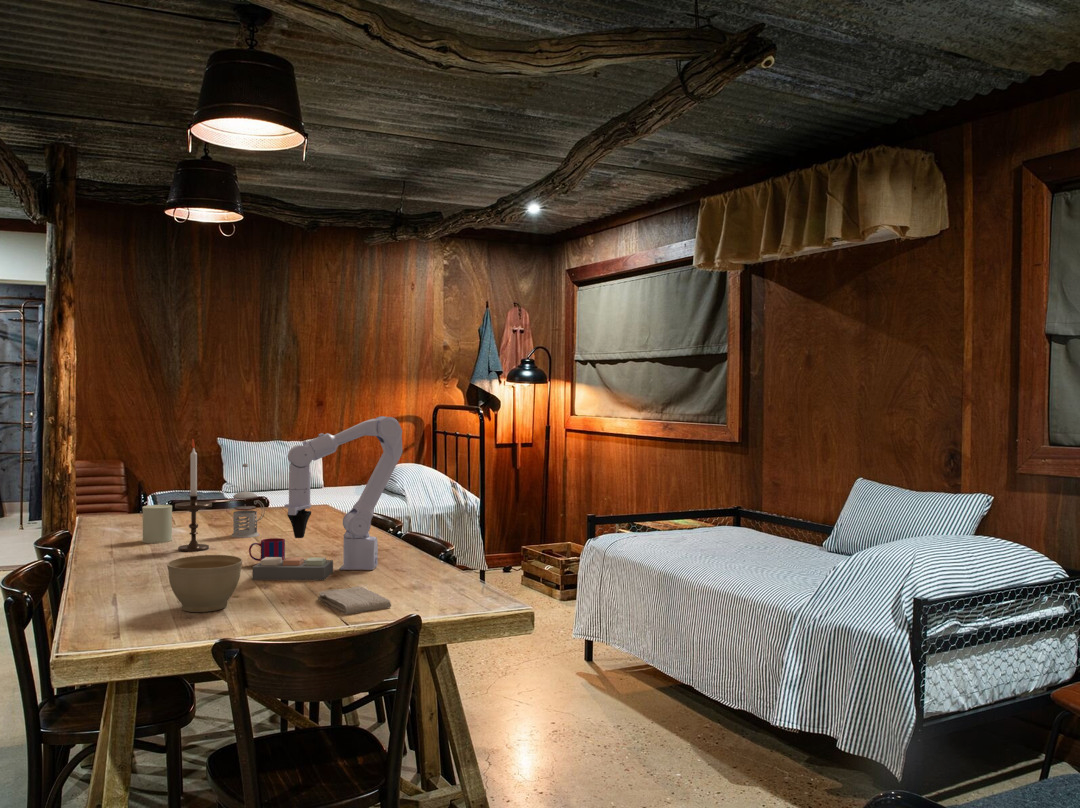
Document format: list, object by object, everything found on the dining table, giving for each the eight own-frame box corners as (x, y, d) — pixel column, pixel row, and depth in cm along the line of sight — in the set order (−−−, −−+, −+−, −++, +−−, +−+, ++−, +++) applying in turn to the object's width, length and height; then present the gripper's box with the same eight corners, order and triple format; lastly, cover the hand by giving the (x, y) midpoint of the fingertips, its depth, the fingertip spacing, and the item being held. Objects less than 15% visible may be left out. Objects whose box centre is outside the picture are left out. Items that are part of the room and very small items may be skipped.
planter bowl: (167, 620, 190) (167, 570, 190) (167, 603, 205) (166, 557, 205) (245, 613, 196) (245, 564, 196) (239, 597, 211) (239, 552, 211)
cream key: (281, 565, 238) (281, 557, 238) (277, 568, 233) (277, 560, 233) (265, 565, 238) (265, 557, 238) (260, 568, 233) (260, 560, 233)
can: (178, 540, 291) (178, 504, 291) (153, 544, 283) (153, 507, 283) (161, 537, 296) (161, 502, 296) (136, 541, 288) (136, 505, 288)
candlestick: (195, 553, 268) (195, 439, 267) (167, 551, 271) (167, 438, 271) (219, 547, 278) (219, 438, 278) (191, 545, 281) (191, 437, 281)
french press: (238, 532, 307) (238, 462, 307) (269, 533, 306) (269, 462, 305) (224, 537, 298) (224, 464, 297) (256, 538, 296) (257, 464, 296)
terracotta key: (303, 565, 238) (303, 557, 238) (299, 568, 233) (299, 560, 233) (287, 565, 238) (287, 557, 238) (283, 568, 233) (283, 560, 233)
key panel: (333, 572, 241) (333, 560, 241) (324, 580, 231) (324, 567, 231) (264, 572, 241) (264, 559, 241) (252, 579, 231) (252, 567, 231)
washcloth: (359, 595, 216) (359, 582, 216) (393, 610, 202) (393, 596, 202) (314, 601, 209) (314, 589, 209) (345, 617, 195) (345, 603, 195)
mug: (285, 564, 251) (285, 541, 251) (249, 567, 248) (249, 543, 248) (283, 560, 258) (283, 537, 257) (248, 562, 254) (248, 539, 254)
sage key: (325, 565, 238) (325, 557, 238) (321, 568, 233) (321, 560, 233) (309, 565, 238) (309, 557, 238) (305, 568, 233) (305, 560, 233)
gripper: (293, 485, 249) (292, 533, 249) (277, 491, 234) (276, 541, 234) (317, 486, 248) (317, 533, 249) (303, 491, 234) (302, 542, 234)
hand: (299, 537), depth 241 cm, fingers closed
